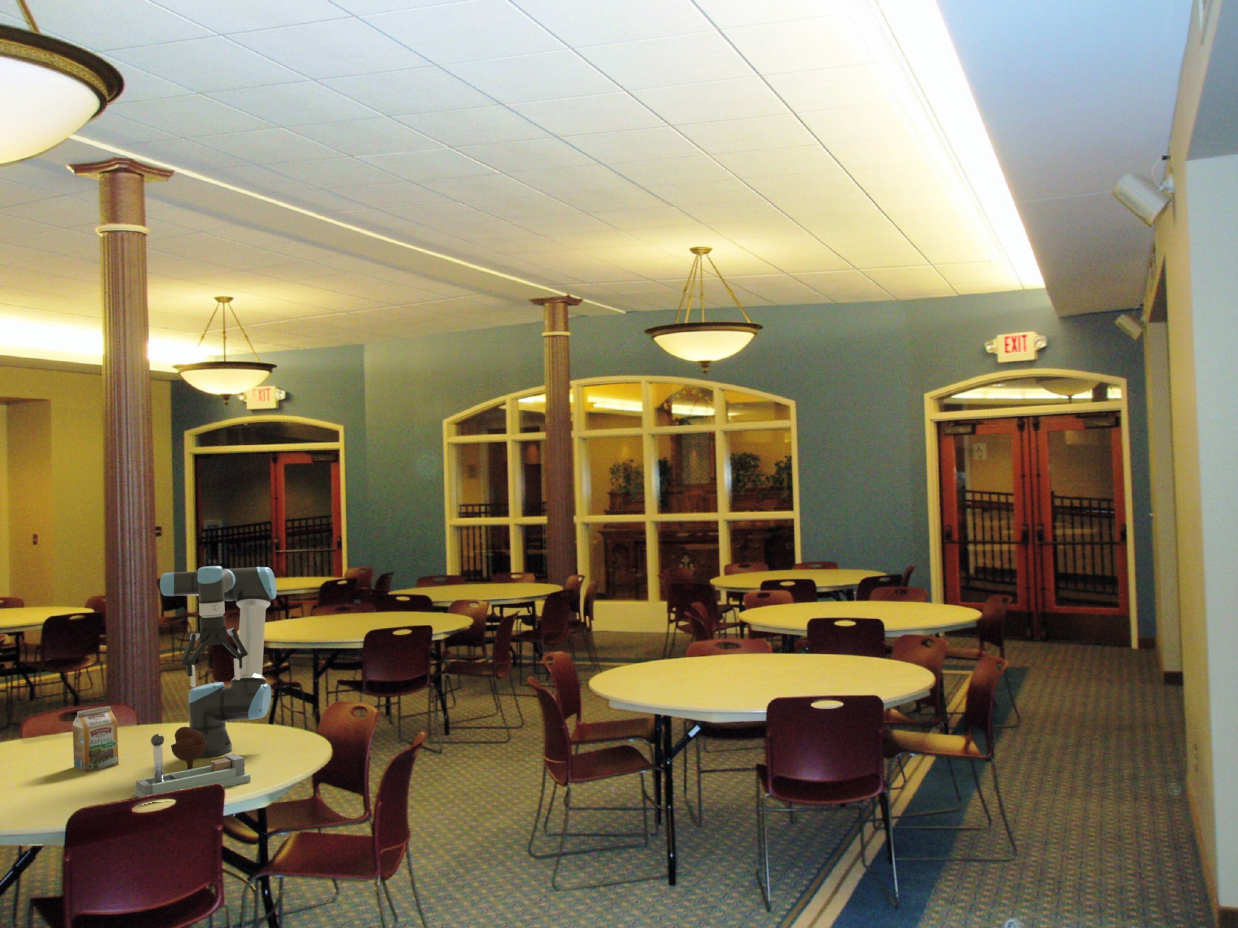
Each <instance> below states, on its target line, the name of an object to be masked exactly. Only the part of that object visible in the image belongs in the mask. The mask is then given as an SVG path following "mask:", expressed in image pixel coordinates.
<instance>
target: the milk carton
mask: <svg viewBox="0 0 1238 928" xmlns="http://www.w3.org/2000/svg"><path fill="white" fill-rule="evenodd" d="M76 713H77V714H76V715H77V716H76V717H75V719H74V721H73V722H72V743H73V744H72V746H73V768H75V769H77V770H80V771H82V772H85V773H87V772H91V771H97V770H101V769H106V768H111V767H116V766H119V765H120V763H119V740H118V738H119V737H118V736H119V734H118V721H117V719H116V717H115V715H114V713H113V712H112V707H111V706H110V705H109V706H103V707H98V708H92V709H85V710H79V711H77V712H76Z"/></svg>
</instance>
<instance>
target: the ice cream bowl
mask: <svg viewBox="0 0 1238 928" xmlns="http://www.w3.org/2000/svg"><path fill="white" fill-rule="evenodd" d="M174 740H175V743H173V744H171V745H170V749H171V751H172V754H173V756H174V757H176V758H177V759H178V760H181V761H182V762H183V761H184V762H186V766H187V768H186V769H185V770H190V769H195V768H194V764H193V763H194V760H195V761H196V760H197V759H199V757H200V756H201V755H202V754H203V753H204V752H205V749H206V746H207V741H206V740H204V737H203V735H202V734H201V733H200V732H199V731H197V730H192V729H191V728H190V726H181V727H179V728H178V729H176V731H175V732H174ZM200 758H201V757H200Z"/></svg>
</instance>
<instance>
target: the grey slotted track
mask: <svg viewBox="0 0 1238 928" xmlns="http://www.w3.org/2000/svg"><path fill="white" fill-rule="evenodd" d="M223 757H224V758H226V759H228V760H230V761H231V769H226V770H221V771H216V772H211V765H207V766H206V765H205V766H202V767H196V768H195V769H190V770H186V769H185V770H181V771H177V772H176V771H175V772H171V773H170V772H169V773H166V774H163V779H166V778H170V774H174V775H176V776H178V777H180V779H176V780H171V781H166V782H161V783H156V784H150V783H149V782H151V781H155V777H154V776H150V777H146V778H142V779H140V780H139V779H138V780H135V784H136V785H135V787H134V796H136V797H137V798H139V797H143V796H147V795H155V794H163V793H167V792H173V791H178V790H180V789H188V788H195V787H199V786H207V785H214V784H221V785H223V786H225V787H224V788H226V787H232V786H235V785H240V784H246V783H250V782H251V774H249V773H247V772H245V757H244V756H241V755H238V754H237V753H229V754H223ZM224 758H223V759H224Z"/></svg>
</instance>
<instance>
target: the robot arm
mask: <svg viewBox="0 0 1238 928" xmlns="http://www.w3.org/2000/svg"><path fill="white" fill-rule="evenodd" d="M159 588H160V593H161V594H162V595H163V596H164V597H165V596H166V597H175V596H197V597H198V609H199V610H198V611H199V613H198V614H199V616H200V617H199V629H200V630H199V633H192V632H191V633H189V641H188V642H187V645H186V647H185V650H184V652H183V654H182V657H181V659H180V662H179V664H181V665H182V666H186V675H187V676H188V677H190V679H189V680H190V686H191V687H192V688H191V689H190V690H189V692H188V702H187V705H188V722H189V723H188V724H189V726H188V727H190V728H191V729H192V730H197V731H199V732H200V733H201V734H202V735H203V737H204V740H206V741H207V746H206V749H205V752H204V753H203V754H202V755H201V756H200V757H199V758H209V757H215V756H221V755H226V754H227V753H229V752H232V751H233V743H232V740H231V738H230V735H229V733H228V730H227V728H226V727H227V726H226V724H227V723H226V721H227V722H228V721H229V722H230V721H246V720H250V721H253V720H256V719H257V720H259V719H262V718H264V717H265V716H266V715H267V713H268V711H269V709H270V705H271V700H272V687H271V685H270V684H268V683H267V679H266V678H265V676H264V675H263V666H264V665H263V662H264V646H265V643H264V642H265V630H266V629H265V627H266V612H267V611H266V610H267V608H269V607H270V606H271V603H272V602H271V601H272V600H275V599H276V597H277V593H278V591H277V583H276V577H275V573H274V572H273V570H272V569H271V568H270V567H267V566H266V567H265V566H263V567H262V566H256V567H237V568H223V567H222V566H220V565H210V566H202V567H199V568H198V569H197V571H196V570H195V571H179V572H178V571H177V572H174V571H172V572H165V573H163V574H162V575H161V577H160V579H159ZM225 601H226V602H234V601H235V602H236V604H235V605H236V606H237V607H238V608H239V609H240V611H239V623H238V624H239V627H238V632H237V629H236V628H234V627H231V628H229V629H227V628H226V627H227V626H226V616H225V615H224V614H225V613H226V611H225V608H226V607H225V606H226V605H225ZM237 633H238V634H237ZM226 636H230V637H231V638H232V640H233V642H234V643H235V645H236V647H237V649H235V647H234V646H233V645H232V644H230V643H229V641H228V640H227V639H226ZM198 639H200V640H201V641H200V643H199V644H198V646H197V648H196V649H195V650H194V651H193V649H194V647H195V645H196V641H198ZM221 644H222V645H223V646H224V647H225V648H226V649H227V650H228V651H229V652H230V653H231V654H232V655H233V656H235V658H233V665H234V666H233V669H234V671H233V672H234V677H233V678H232V679H231V681H230V685H229V686H225V685H226V684H225V683H224V682H223V681H221V682H219V681H218V682H211V683H207V684H203V685H199V686H197V683H196V682H197V681H196V666H195V665H194V663H195V662H196V661H197V659H198V658H199V656H200V655H201V654H202V653H203V651H204V649H206V648H207V646H208V647H212V646H220V645H221ZM192 651H193V653H192ZM191 653H192V654H191ZM199 758H198V759H199Z"/></svg>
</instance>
